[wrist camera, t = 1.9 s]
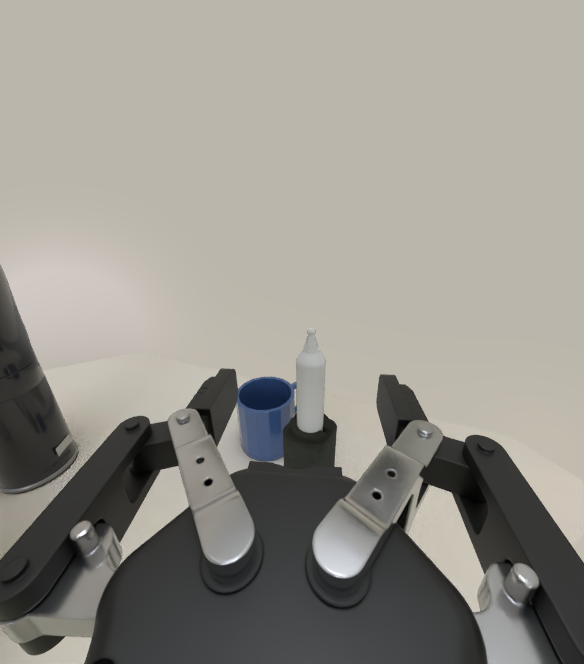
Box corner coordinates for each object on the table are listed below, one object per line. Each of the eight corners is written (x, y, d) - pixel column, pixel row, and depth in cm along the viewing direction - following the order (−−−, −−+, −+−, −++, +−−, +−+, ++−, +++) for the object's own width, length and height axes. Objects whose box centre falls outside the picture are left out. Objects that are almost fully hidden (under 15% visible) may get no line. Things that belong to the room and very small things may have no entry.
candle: (302, 478, 39) (302, 314, 29) (335, 497, 36) (347, 324, 26) (281, 508, 35) (273, 331, 25) (316, 531, 33) (322, 344, 23)
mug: (264, 471, 40) (260, 421, 36) (230, 439, 46) (224, 392, 42) (319, 428, 48) (320, 383, 44) (284, 405, 54) (283, 363, 50)
